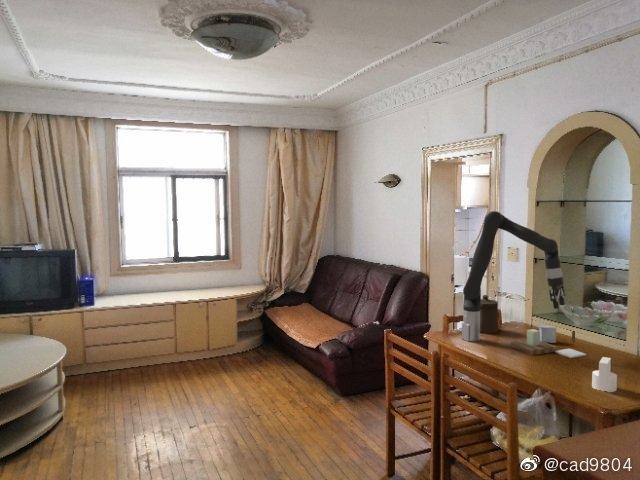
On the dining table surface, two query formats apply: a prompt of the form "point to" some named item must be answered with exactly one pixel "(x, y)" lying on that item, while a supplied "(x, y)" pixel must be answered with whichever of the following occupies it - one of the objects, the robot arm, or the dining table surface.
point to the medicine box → (547, 334)
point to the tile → (570, 353)
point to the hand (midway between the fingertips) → (559, 306)
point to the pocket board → (533, 347)
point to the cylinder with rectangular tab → (604, 377)
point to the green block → (533, 337)
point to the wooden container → (488, 315)
